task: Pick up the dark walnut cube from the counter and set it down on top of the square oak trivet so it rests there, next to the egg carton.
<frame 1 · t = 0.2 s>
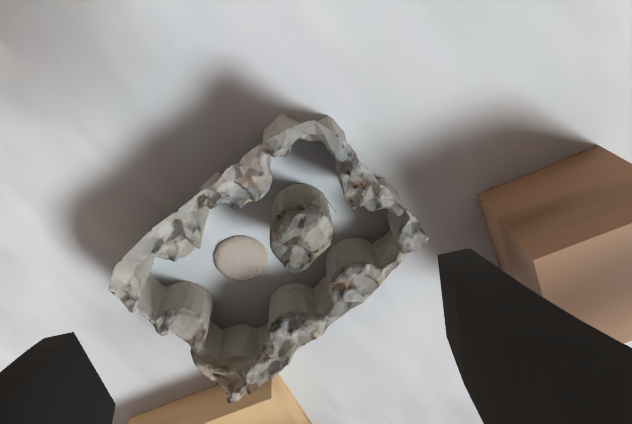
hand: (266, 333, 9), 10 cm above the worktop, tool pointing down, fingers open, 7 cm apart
walnut cube: (547, 219, 20), on the worktop
egg carton: (267, 226, 20), on the worktop
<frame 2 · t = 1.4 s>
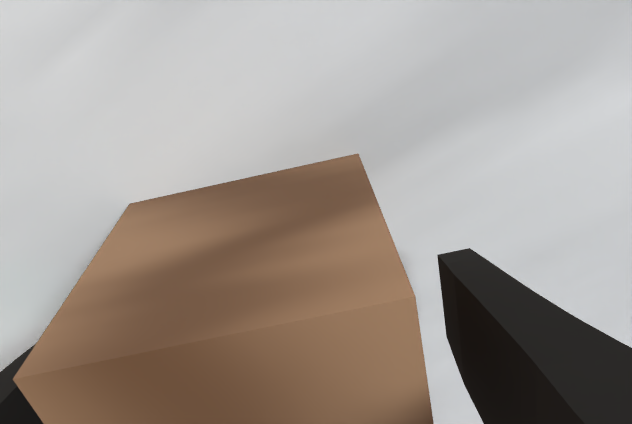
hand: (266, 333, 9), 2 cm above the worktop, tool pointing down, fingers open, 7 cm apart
walnut cube: (272, 272, 11), on the worktop
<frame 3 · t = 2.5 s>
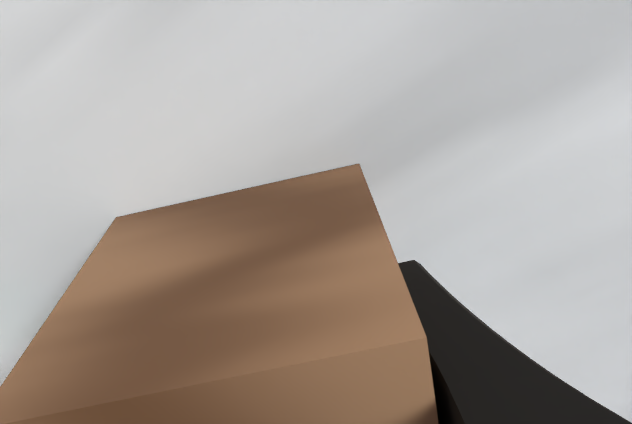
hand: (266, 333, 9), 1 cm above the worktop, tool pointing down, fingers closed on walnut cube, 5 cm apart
walnut cube: (268, 290, 11), on the worktop, touching gripper
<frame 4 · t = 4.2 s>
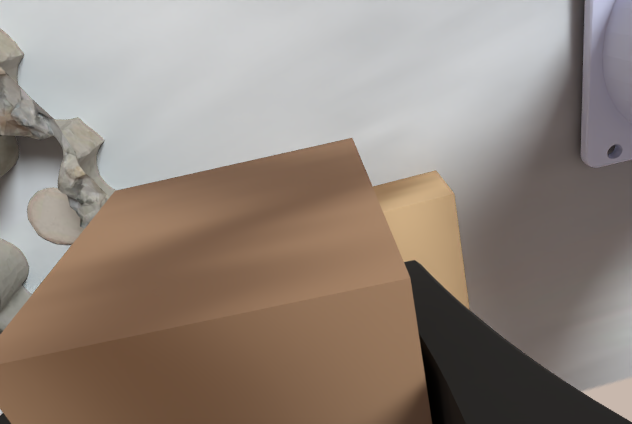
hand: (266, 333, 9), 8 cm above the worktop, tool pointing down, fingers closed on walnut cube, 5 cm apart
walnut cube: (263, 265, 11), point 7 cm above the worktop, touching gripper
oak trivet: (350, 278, 20), on the worktop
egg carton: (25, 179, 17), on the worktop
when the fingers open (5 cm above the worktop, at t = 6.2 s): walnut cube drops 1 cm, resting on oak trivet.
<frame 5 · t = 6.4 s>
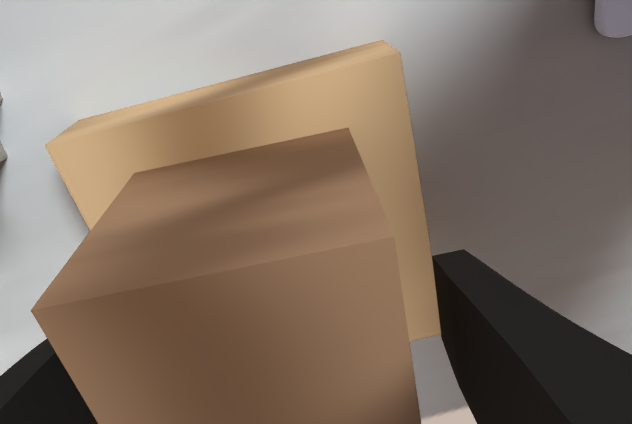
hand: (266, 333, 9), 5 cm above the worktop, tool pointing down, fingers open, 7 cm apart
walnut cube: (267, 243, 12), point 2 cm above the worktop, touching oak trivet
oak trivet: (272, 208, 14), on the worktop, touching walnut cube
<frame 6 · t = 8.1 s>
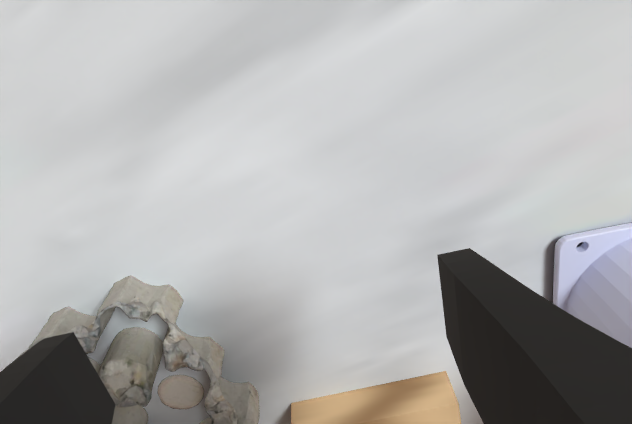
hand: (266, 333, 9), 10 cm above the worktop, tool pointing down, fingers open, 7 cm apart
egg carton: (159, 364, 23), on the worktop
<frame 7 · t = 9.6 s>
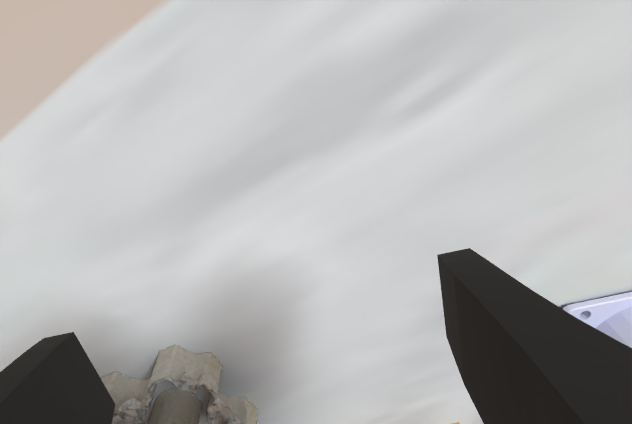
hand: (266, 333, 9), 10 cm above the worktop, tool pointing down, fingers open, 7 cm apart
egg carton: (195, 419, 25), on the worktop
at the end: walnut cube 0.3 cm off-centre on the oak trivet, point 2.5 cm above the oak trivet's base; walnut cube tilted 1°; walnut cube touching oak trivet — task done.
